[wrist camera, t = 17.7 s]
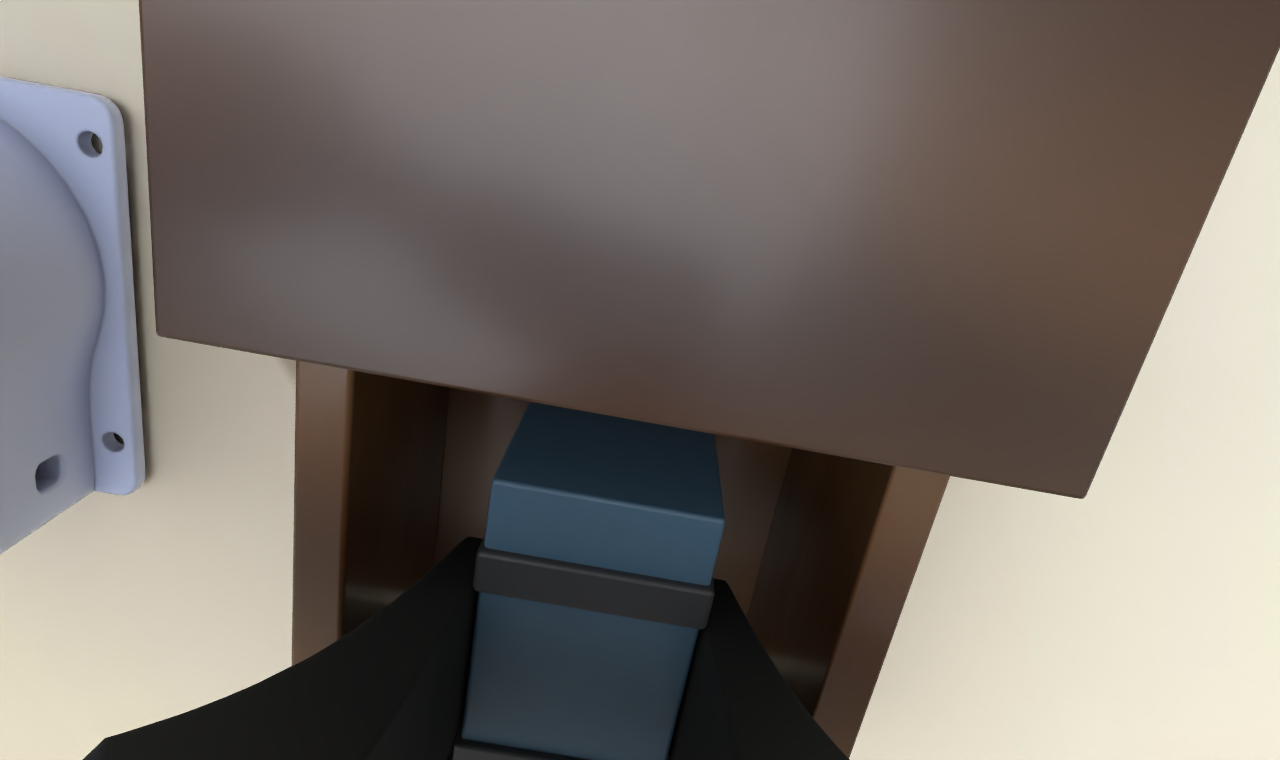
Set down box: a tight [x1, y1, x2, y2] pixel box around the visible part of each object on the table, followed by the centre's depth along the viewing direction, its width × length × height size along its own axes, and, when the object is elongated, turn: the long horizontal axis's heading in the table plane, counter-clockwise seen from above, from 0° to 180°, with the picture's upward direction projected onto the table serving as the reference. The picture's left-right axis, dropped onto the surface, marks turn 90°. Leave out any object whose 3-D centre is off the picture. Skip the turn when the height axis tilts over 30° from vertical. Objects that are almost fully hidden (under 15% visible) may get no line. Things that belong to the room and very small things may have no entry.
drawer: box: [292, 361, 950, 760], centre depth 15 cm, size 17×10×7 cm, turn 170°
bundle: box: [453, 402, 726, 760], centre depth 13 cm, size 6×3×3 cm, turn 170°
